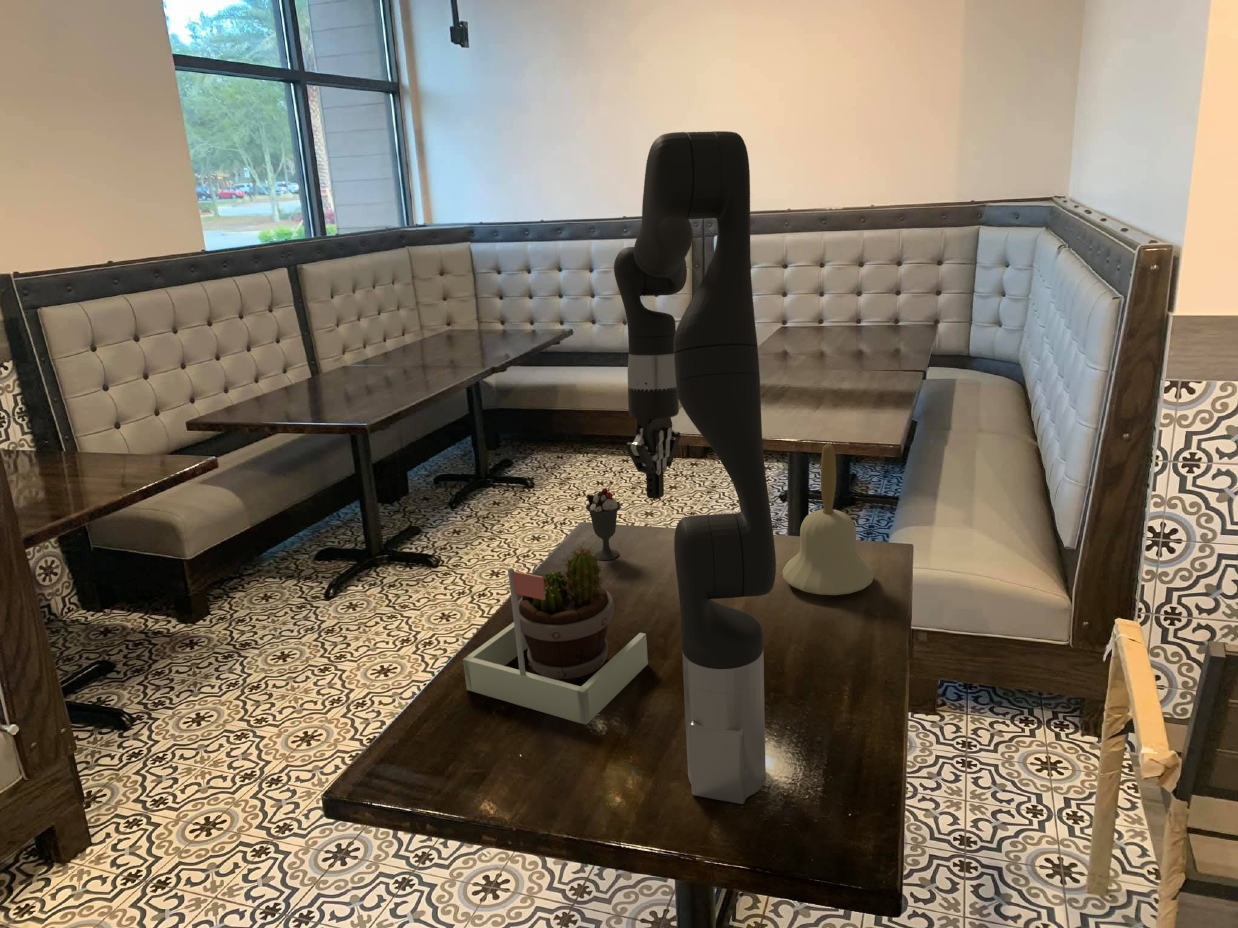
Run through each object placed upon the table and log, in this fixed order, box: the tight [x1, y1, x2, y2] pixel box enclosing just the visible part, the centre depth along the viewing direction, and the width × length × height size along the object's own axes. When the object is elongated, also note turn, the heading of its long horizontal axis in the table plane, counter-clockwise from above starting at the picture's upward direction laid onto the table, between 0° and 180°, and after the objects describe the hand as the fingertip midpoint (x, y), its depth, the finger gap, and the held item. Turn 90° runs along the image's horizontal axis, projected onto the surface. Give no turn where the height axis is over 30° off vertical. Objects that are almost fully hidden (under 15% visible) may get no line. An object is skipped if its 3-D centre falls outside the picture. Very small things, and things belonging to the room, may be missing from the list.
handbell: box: [781, 443, 875, 596], centre depth 151 cm, size 15×15×25 cm
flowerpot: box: [517, 541, 615, 684], centre depth 131 cm, size 14×15×20 cm
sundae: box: [585, 481, 622, 561], centre depth 170 cm, size 7×7×15 cm
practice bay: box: [462, 567, 649, 726], centre depth 128 cm, size 17×20×21 cm
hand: (655, 497), depth 137 cm, fingers closed
